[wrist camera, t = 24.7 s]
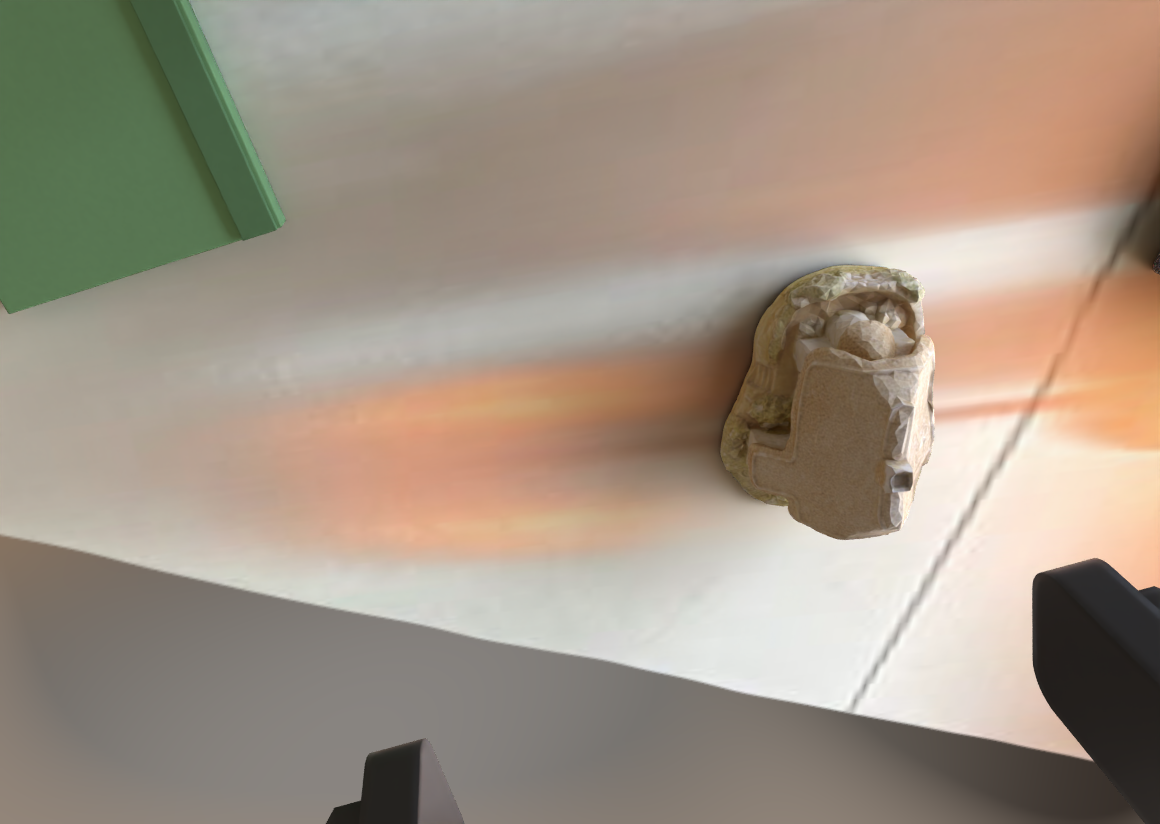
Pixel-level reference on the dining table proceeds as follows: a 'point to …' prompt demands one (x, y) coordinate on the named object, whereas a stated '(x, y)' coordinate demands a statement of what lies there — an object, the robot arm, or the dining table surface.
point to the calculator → (1157, 265)
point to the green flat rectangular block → (116, 147)
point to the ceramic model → (837, 402)
